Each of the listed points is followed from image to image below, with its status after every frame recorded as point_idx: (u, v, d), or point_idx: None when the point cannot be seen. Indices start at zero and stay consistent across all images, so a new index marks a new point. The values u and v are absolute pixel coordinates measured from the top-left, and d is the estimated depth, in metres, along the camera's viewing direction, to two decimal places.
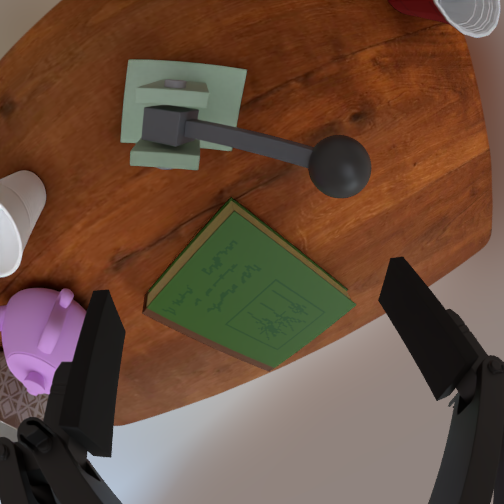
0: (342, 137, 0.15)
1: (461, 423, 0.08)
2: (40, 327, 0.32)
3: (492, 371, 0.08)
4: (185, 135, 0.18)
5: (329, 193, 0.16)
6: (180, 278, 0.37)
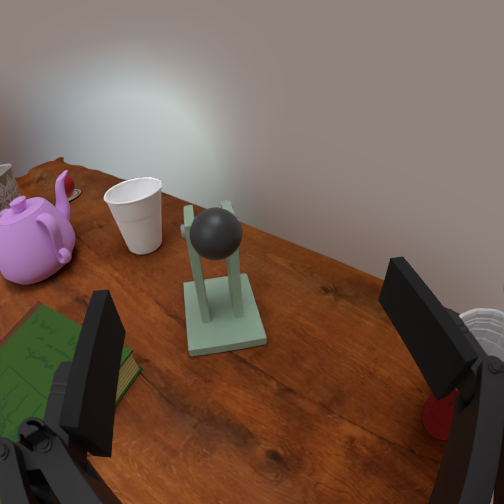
0: None
1: (462, 423, 0.08)
2: None
3: (492, 371, 0.08)
4: None
5: None
6: (66, 323, 0.33)
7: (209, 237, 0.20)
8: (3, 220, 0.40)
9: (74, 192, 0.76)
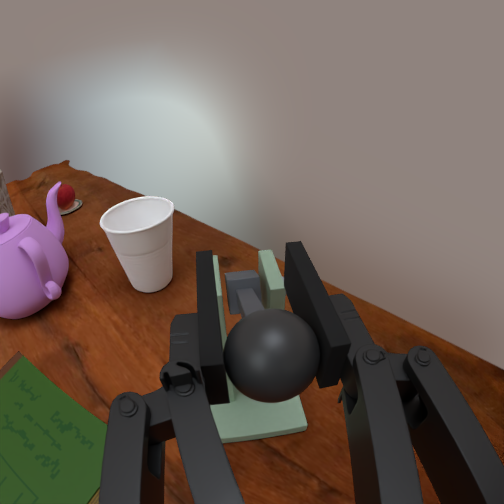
0: None
1: (356, 425, 0.09)
2: None
3: (371, 363, 0.09)
4: (237, 290, 0.20)
5: (231, 331, 0.11)
6: (50, 389, 0.23)
7: (266, 381, 0.09)
8: None
9: (75, 203, 0.68)
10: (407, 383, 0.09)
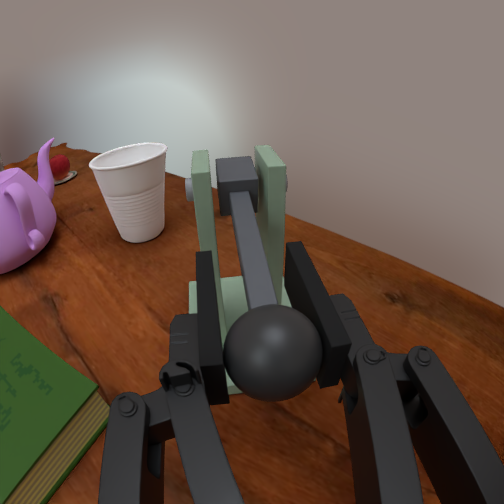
0: None
1: (356, 426, 0.09)
2: None
3: (371, 363, 0.09)
4: (231, 193, 0.17)
5: (233, 340, 0.10)
6: (16, 331, 0.20)
7: (267, 399, 0.10)
8: None
9: (69, 174, 0.65)
10: (407, 383, 0.09)
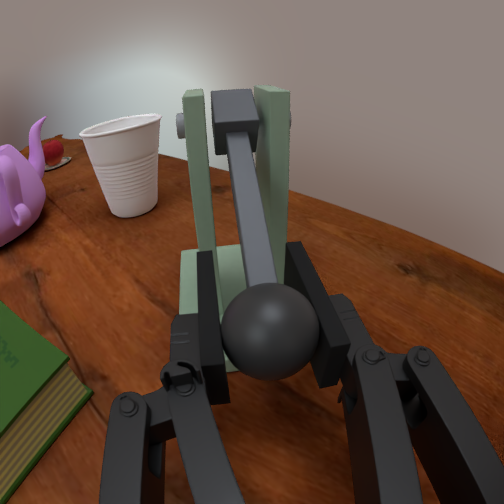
0: None
1: (355, 426, 0.09)
2: None
3: (370, 363, 0.09)
4: (228, 134, 0.15)
5: (231, 326, 0.10)
6: None
7: None
8: None
9: (63, 160, 0.61)
10: (407, 383, 0.09)
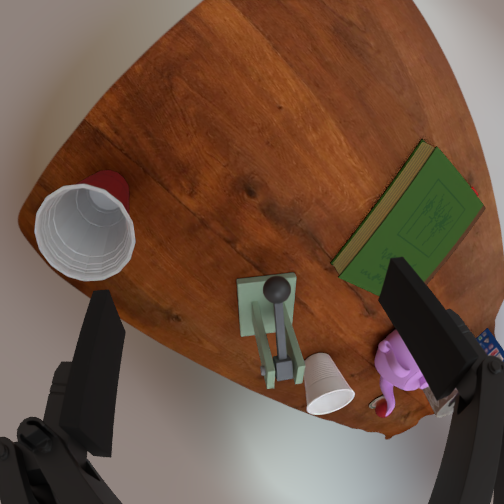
0: (264, 294, 0.39)
1: (461, 423, 0.08)
2: None
3: (492, 371, 0.08)
4: (286, 358, 0.40)
5: (289, 291, 0.39)
6: None
7: None
8: None
9: (374, 405, 0.85)
10: None
